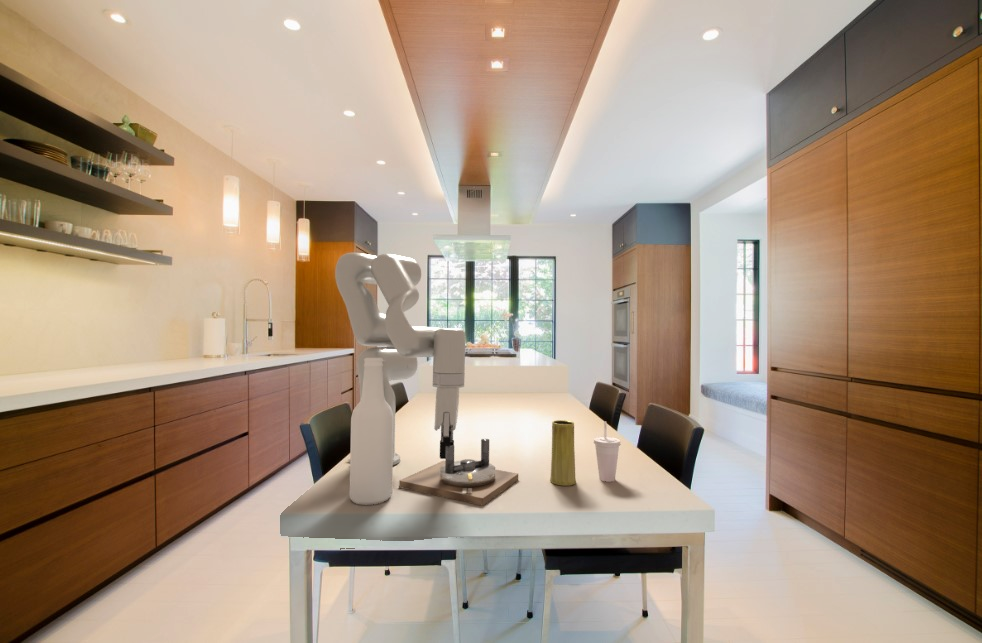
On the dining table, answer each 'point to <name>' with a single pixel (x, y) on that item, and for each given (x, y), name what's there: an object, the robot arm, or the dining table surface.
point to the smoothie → (607, 456)
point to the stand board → (477, 495)
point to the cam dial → (467, 469)
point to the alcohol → (371, 440)
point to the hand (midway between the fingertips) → (446, 457)
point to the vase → (563, 453)
